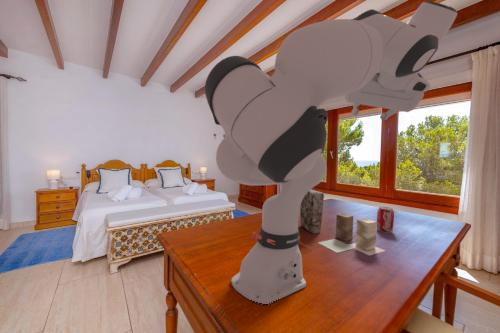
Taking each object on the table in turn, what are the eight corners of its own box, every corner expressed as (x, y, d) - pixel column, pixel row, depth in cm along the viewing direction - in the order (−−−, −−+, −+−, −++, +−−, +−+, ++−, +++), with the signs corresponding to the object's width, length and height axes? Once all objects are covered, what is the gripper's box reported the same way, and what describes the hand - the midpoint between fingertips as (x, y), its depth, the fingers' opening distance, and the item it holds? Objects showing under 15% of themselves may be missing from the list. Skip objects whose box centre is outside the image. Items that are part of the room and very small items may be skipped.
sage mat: (354, 249, 84) (354, 247, 84) (337, 254, 79) (337, 252, 79) (334, 240, 93) (334, 238, 92) (317, 244, 88) (317, 242, 88)
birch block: (375, 249, 83) (376, 221, 83) (367, 251, 81) (368, 223, 80) (363, 244, 88) (364, 218, 87) (355, 246, 85) (356, 219, 85)
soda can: (396, 233, 103) (397, 209, 103) (386, 234, 101) (387, 210, 100) (382, 228, 110) (383, 205, 109) (373, 230, 107) (374, 206, 107)
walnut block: (352, 240, 94) (353, 215, 93) (346, 242, 91) (347, 217, 90) (341, 236, 98) (342, 213, 97) (335, 238, 95) (336, 214, 94)
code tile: (385, 252, 82) (385, 250, 82) (369, 257, 78) (369, 255, 78) (361, 242, 91) (361, 241, 91) (346, 246, 87) (346, 244, 87)
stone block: (324, 233, 101) (325, 192, 100) (312, 234, 99) (313, 192, 98) (307, 224, 114) (308, 188, 113) (296, 225, 111) (297, 188, 110)
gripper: (359, 75, 55) (337, 117, 66) (436, 87, 55) (402, 127, 66) (355, 64, 59) (335, 105, 70) (427, 76, 59) (396, 115, 70)
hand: (368, 116), depth 68 cm, fingers open, 8 cm apart
